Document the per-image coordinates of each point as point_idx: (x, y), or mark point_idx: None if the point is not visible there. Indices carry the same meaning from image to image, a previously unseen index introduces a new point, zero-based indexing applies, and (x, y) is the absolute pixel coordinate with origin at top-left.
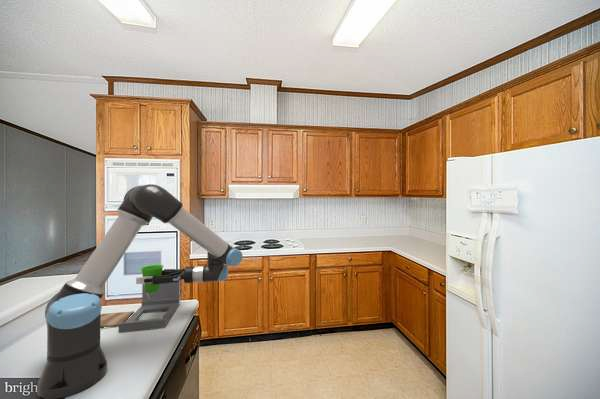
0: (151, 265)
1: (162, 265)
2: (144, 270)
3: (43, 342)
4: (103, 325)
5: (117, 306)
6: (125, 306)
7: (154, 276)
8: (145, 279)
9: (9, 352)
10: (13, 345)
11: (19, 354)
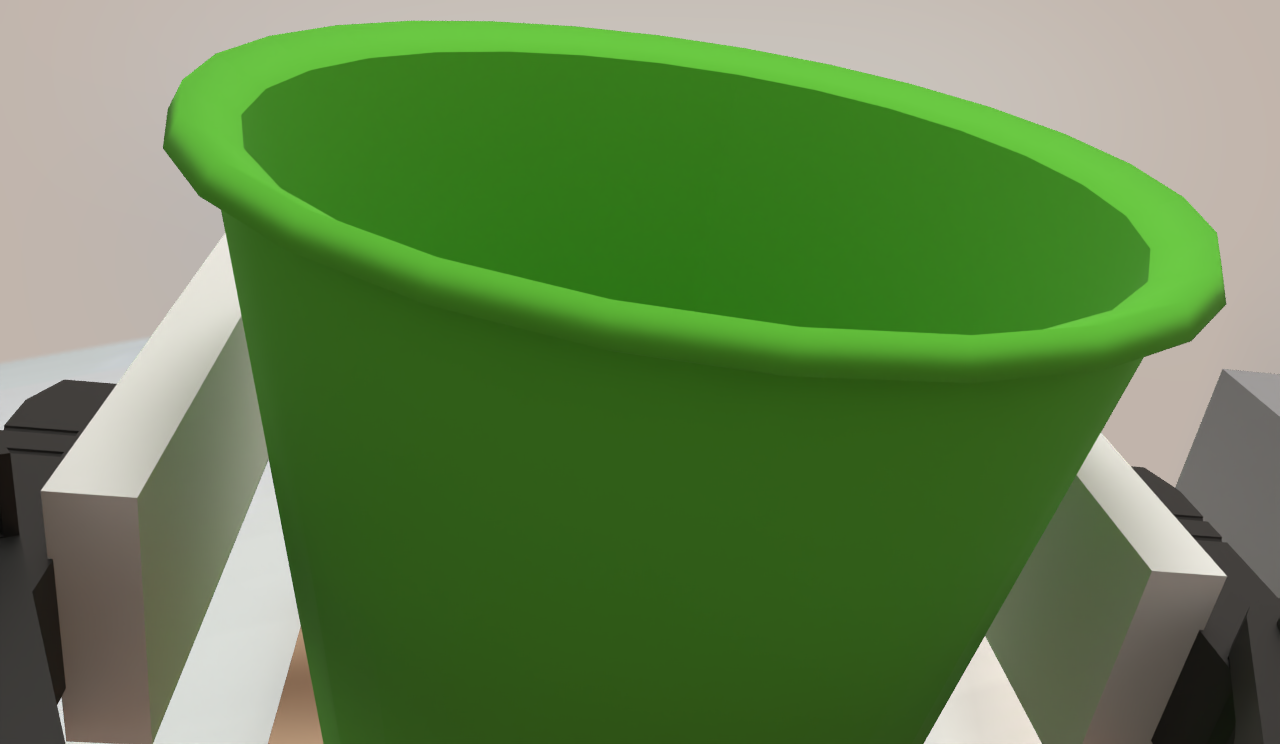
0: (1029, 141)
1: (1119, 315)
2: (330, 87)
3: None
4: (290, 698)
5: (990, 656)
6: (1006, 735)
7: (297, 550)
8: (30, 404)
9: (102, 354)
10: None
11: (12, 395)
